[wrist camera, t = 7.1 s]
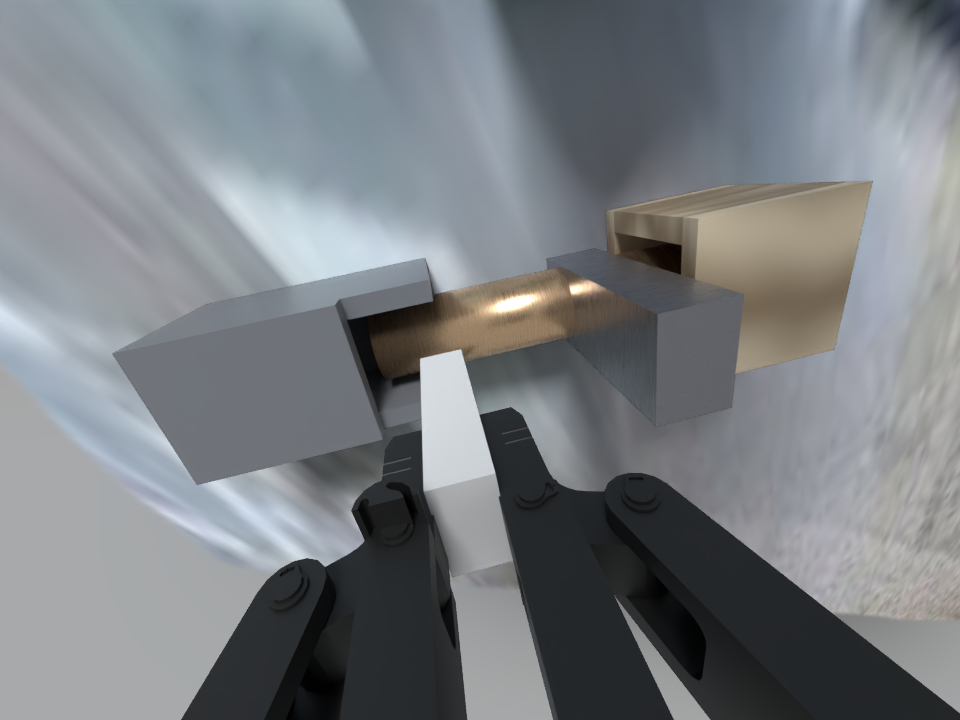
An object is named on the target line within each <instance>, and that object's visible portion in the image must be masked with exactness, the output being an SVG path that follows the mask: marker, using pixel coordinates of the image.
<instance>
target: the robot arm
mask: <svg viewBox="0 0 960 720" xmlns="http://www.w3.org/2000/svg"><path fill="white" fill-rule="evenodd" d="M420 377H421V414H422V430H421V431H417V432H413V433H408V434H404V435H400V436H396V437H393V439H392V440H391V442H390V444H389V445H388V447H387V448H386V450H385V458H384V466H383V477H382V481H380V482H378V483H375V484H374V485H372V486H371V487H369V488H368V489H366V490H365V491H364V492H363V493H362V494H361V495H360V496H359V497H358V498H357V500H356V501H355V503H354V506H353V508H352V510H351V511H352V513H353V516H354V518H355V520H356V522H357V524H358V527H359V529H360V531H361V533H362V535H363V537H364V540H365V541H364V543H363V544H362V545H361V546H359V547H358V548H357V549H356V550H354V551H353V552H351V553H350V554H348V555H346V556H345V557H343V558H341V559H339V560H337V561H335V562H334V563H332V564H330V565H328V566H326V567H324V566H323V565H322V564H321V563H320V562H319V561H318V560H314V559H308V558H306V559H302V560H298V561H294V562H292V563H290V564H288V565H286V566H284V567H282V568H281V569H279V570H278V571H277V572H276V573H275V574H274V575H272V576H271V577H270V578H269V579H268V580H267V581H266V582H265V584H264V585H263V586H262V587H261V589H260V590H259V591H258V593H257V594H256V596H255V598H254V599H253V601H252V603H251V604H250V606H249V608H248V609H247V611H246V613H245V614H244V616H243V618H242V619H241V621H240V623H239V624H238V626H237V628H236V629H235V631H234V633H233V635H232V636H231V638H230V639H229V641H228V643H227V644H226V646H225V648H224V649H223V651H222V653H221V654H220V656H219V658H218V659H217V661H216V663H215V664H214V666H213V668H212V669H211V671H210V673H209V675H208V676H207V678H206V679H205V681H204V683H203V684H202V686H201V688H200V689H199V691H198V693H197V695H196V696H195V698H194V699H193V701H192V703H191V704H190V706H189V708H188V709H187V711H186V713H185V714H184V716H183V718H182V719H181V720H467V713H466V703H465V694H464V683H463V673H462V663H461V654H460V642H459V632H458V622H457V612H456V602H455V599H454V596H453V592H452V589H451V586H450V575H449V569H450V572H451V575H452V577H456V576H460V575H463V574H467V573H471V572H475V571H478V570H482V569H486V568H489V567H493V566H497V565H501V564H504V563H508V562H512V561H513V562H514V566H515V570H516V574H517V579H518V583H519V588H520V593H521V597H522V602H523V605H524V606H525V611H526V614H527V619H528V622H529V627H530V630H531V634H532V638H533V642H534V646H535V650H536V654H537V658H538V662H539V666H540V669H541V673H542V677H543V681H544V685H545V689H546V692H547V697H548V701H549V705H550V709H551V713H552V717H553V720H674V719H673V717H672V715H671V713H670V711H669V709H668V707H667V705H666V703H665V701H664V698H663V697H662V694H661V692H660V690H659V688H658V686H657V684H656V682H655V680H654V678H653V676H652V673H651V671H650V670H649V667H648V665H647V663H646V661H645V659H644V657H643V655H642V653H641V651H640V648H639V647H638V644H637V642H636V640H635V638H634V636H633V634H632V632H631V630H630V628H629V626H628V624H627V621H626V619H625V617H624V615H623V613H622V611H621V609H620V607H619V605H618V603H617V601H616V599H615V597H616V598H617V599H618V601H619V602H620V603H621V604H622V606H623V607H624V608H625V610H626V611H627V612H628V614H629V615H630V616H631V617H632V619H633V620H634V621H635V623H636V624H637V625H638V626H639V628H640V629H641V630H642V632H643V633H644V634H645V635H646V637H647V638H648V639H649V641H650V642H651V643H652V644H653V646H654V647H655V648H656V650H657V651H658V652H659V653H660V655H661V656H662V657H663V659H664V660H665V661H666V662H667V664H668V665H669V666H670V668H671V669H672V670H673V672H674V673H675V674H676V675H677V677H678V678H679V679H680V681H681V682H682V683H683V684H684V686H685V687H686V688H687V690H688V691H689V692H690V694H691V695H692V696H693V697H694V698H695V700H696V701H697V703H698V704H699V705H700V706H701V708H702V709H703V710H704V712H705V713H706V714H707V716H708V717H709V718H710V719H711V720H960V713H959V712H957V711H956V710H955V709H953V708H952V707H951V706H950V705H948V704H947V703H946V702H945V701H943V700H942V699H941V698H939V697H938V696H937V695H936V694H934V693H933V692H932V691H931V690H929V689H928V688H927V687H925V686H924V685H923V684H922V683H920V682H919V681H918V680H916V679H915V678H914V677H913V676H911V675H910V674H909V673H908V672H906V671H905V670H904V669H902V668H901V667H900V666H898V665H897V664H896V663H895V662H894V661H892V660H891V659H889V658H888V657H887V656H886V655H885V654H883V653H882V652H881V651H880V650H878V649H877V648H876V647H874V646H873V645H872V644H871V643H869V642H868V641H867V640H866V639H864V638H863V637H862V636H860V635H859V634H858V633H856V632H855V631H854V630H853V629H851V628H850V627H849V626H848V625H846V624H845V623H844V622H843V621H841V620H840V619H839V618H837V617H836V616H835V615H834V614H832V613H831V612H830V611H829V610H827V609H826V608H825V607H823V606H822V605H821V604H820V603H818V602H817V601H816V600H815V599H813V598H812V597H811V596H809V595H808V594H807V593H806V592H804V591H803V590H802V589H801V588H799V587H798V586H797V585H795V584H794V583H793V582H792V581H790V580H789V579H788V578H787V577H785V576H784V575H783V574H781V573H780V572H779V571H778V570H776V569H775V568H774V567H772V566H771V565H770V564H769V563H767V562H766V561H765V560H764V559H762V558H761V557H760V556H758V555H757V554H756V553H755V552H753V551H752V550H751V549H750V548H748V547H747V546H746V545H744V544H743V543H742V542H741V541H739V540H738V539H737V538H736V537H734V536H733V535H732V534H730V533H729V532H728V531H727V530H725V529H724V528H723V527H721V526H720V525H719V524H718V523H716V522H715V521H714V520H713V519H711V518H710V517H709V516H707V515H706V514H705V513H704V512H702V511H701V510H700V509H699V508H697V507H696V506H695V505H693V504H692V503H691V502H690V501H688V500H687V499H686V498H685V497H683V496H682V495H681V494H679V493H678V492H677V491H676V490H674V489H673V488H672V487H671V486H669V485H668V484H667V483H665V482H663V481H662V480H660V479H658V478H656V477H654V476H650V475H647V474H643V473H627V474H623V475H620V476H617V477H615V478H614V479H613V480H611V481H610V482H609V483H608V485H607V487H606V489H605V491H604V492H596V491H577V490H573V489H569V488H566V487H564V486H562V485H561V484H559V483H558V482H557V481H556V480H555V479H553V478H552V476H551V475H550V473H549V472H548V470H547V467H546V465H545V463H544V461H543V459H542V457H541V454H540V452H539V450H538V448H537V446H536V444H535V442H534V439H533V438H532V435H531V433H530V431H529V429H528V427H527V424H526V422H525V420H524V418H523V416H522V415H521V414H520V413H519V412H517V411H516V410H514V409H513V408H511V407H510V408H506V409H502V410H498V411H494V412H490V413H485V414H481V415H479V412H478V409H477V405H476V401H475V398H474V394H473V391H472V387H471V383H470V380H469V376H468V373H467V369H466V365H465V362H464V358H463V355H462V351H461V349H460V350H456V351H451V352H447V353H443V354H438V355H434V356H430V357H425V358H421V359H420ZM614 595H615V596H614Z"/></svg>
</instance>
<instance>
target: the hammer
mask: <svg viewBox="0 0 960 720" xmlns="http://www.w3.org/2000/svg"><path fill="white" fill-rule="evenodd" d="M546 260H547V269H548V270H543V271H538V272H534V273H529V274H525V275H520V276H516V277H511V278H507V279H502V280H498V281H493V282H489V283H484V284H479V285H475V286H470V287H466V288H461V289H457V290H452V291H448V292H443V293H439V294H434V295H432V296H433V301H431V302H427V303H422V304H418V305H413V306H409V307H404V308H400V309H395V310H391V311H386V312H382V313H377V314H373V315H368V316H367V321H368V329H369V335H370V340H371V344H372V348H373V352H374V355H375V358H376V361H377V364H378V367H379V369H380V371H381V373H382V375H383V377H384V378H385V379H386V380H388V379H392V378H397V377H401V376H405V375H410V374H414V373H418V372H420V359H421V358H425V357H430V356H434V355H438V354H443V353H447V352H451V351H456V350H460V349H461V351H462V355H463V358H464V362H465V361H470V360H474V359H478V358H483V357H487V356H491V355H495V354H500V353H504V352H508V351H513V350H517V349H521V348H526V347H530V346H534V345H538V344H543V343H547V342H551V341H556V340H560V339H564V338H565V339H566V340H567V341H568V342H569V343H570V344H571V345H572V346H573V347H574V348H575V349H576V350H577V351H578V352H579V353H580V354H581V355H582V356H584V357H585V358H586V359H587V360H588V361H589V362H590V363H591V364H592V365H593V366H594V367H595V368H596V369H597V370H598V371H599V372H600V373H601V374H602V375H603V376H604V377H605V378H606V379H607V380H608V381H609V382H610V383H611V384H612V385H613V386H615V387H616V388H617V389H618V390H619V391H620V392H621V393H622V394H623V395H624V396H625V397H626V398H627V399H628V400H629V401H630V402H631V403H632V404H633V405H634V406H635V407H636V408H637V409H638V410H639V411H640V412H641V413H642V414H643V415H644V416H645V417H647V418H648V419H649V420H650V421H651V422H652V423H653V424H654V425H655V426H656V427H657V426H661V425H665V424H669V423H673V422H676V421H680V420H684V419H688V418H692V417H696V416H700V415H704V414H708V413H712V412H716V411H720V410H724V409H728V408H732V400H733V391H734V382H735V374H736V365H737V356H738V347H739V338H740V329H741V320H742V311H743V302H744V294H743V293H739V292H736V291H733V290H729V289H726V288H723V287H720V286H716V285H713V284H710V283H706V282H703V281H700V280H697V279H693V278H690V277H687V276H683V275H681V260H682V245H678V244H673V243H666V244H661V245H657V246H652V247H648V248H643V249H638V250H634V251H629V252H625V253H620V254H616V255H614V254H611V253H608V252H605V251H601V250H598V249H595V248H594V249H590V250H585V251H581V252H576V253H572V254H567V255H562V256H558V257H553V258H549V259H546Z"/></svg>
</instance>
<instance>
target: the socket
mask: <svg viewBox="0 0 960 720" xmlns="http://www.w3.org/2000/svg"><path fill="white" fill-rule="evenodd" d="M872 183H873V181H853V182H818V183H783V184H748V185H725V186H720V187H715V188H711V189H706V190H701V191H697V192H692V193H687V194H682V195H678V196H673V197H668V198H663V199H659V200H654V201H649V202H645V203H640V204H635V205H630V206H626V207H621V208H616V209H612V210H607V211H606V221H607V246H608V253H611V254H614V255H616V254H620V253H625V252H629V251H634V250H638V249H643V248H648V247H652V246H657V245H661V244H666V243H673V244H678V245H682V260H681V275H683V276H687V277H690V278H693V279H697V280H700V281H703V282H706V283H710V284H713V285H716V286H720V287H723V288H726V289H729V290H733V291H736V292H739V293H743V294H744V302H743V311H742V320H741V329H740V338H739V347H738V356H737V365H736V374H737V373H741V372H745V371H749V370H753V369H757V368H761V367H765V366H769V365H773V364H777V363H781V362H785V361H789V360H794V359H798V358H802V357H806V356H810V355H814V354H818V353H822V352H826V351H830V350H834V349H835V345H836V340H837V336H838V332H839V327H840V323H841V319H842V314H843V310H844V305H845V301H846V297H847V292H848V288H849V283H850V279H851V275H852V270H853V266H854V262H855V257H856V253H857V248H858V244H859V240H860V235H861V231H862V226H863V222H864V218H865V213H866V209H867V205H868V200H869V196H870V191H871V187H872Z"/></svg>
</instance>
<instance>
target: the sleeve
mask: <svg viewBox="0 0 960 720" xmlns="http://www.w3.org/2000/svg"><path fill="white" fill-rule="evenodd" d="M432 295H434V294H433V289H432V285H431V281H430V277H429V273H428V269H427V264H426V260H425V258H422V259H417V260H412V261H408V262H403V263H398V264H394V265H389V266H384V267H380V268H375V269H370V270H366V271H361V272H356V273H352V274H347V275H342V276H337V277H333V278H328V279H323V280H319V281H314V282H309V283H305V284H300V285H295V286H291V287H286V288H281V289H277V290H272V291H267V292H262V293H258V294H253V295H248V296H244V297H239V298H234V299H230V300H225V301H220V302H216V303H211V304H206V305H204V306H202V307H200V308H198V309H196V310H194V311H192V312H190V313H188V314H186V315H185V316H183V317H181V318H179V319H177V320H175V321H173V322H171V323H169V324H167V325H166V326H164V327H162V328H160V329H158V330H156V331H154V332H152V333H150V334H148V335H147V336H145V337H143V338H141V339H139V340H137V341H135V342H133V343H131V344H129V345H128V346H126V347H124V348H122V349H120V350H118V351H116V352H114V353H112V354H113V356H114V357H115V359H116V360H117V362H118V364H119V365H120V367H121V368H122V370H123V371H124V373H125V374H126V376H127V377H128V379H129V381H130V382H131V384H132V385H133V387H134V388H135V390H136V391H137V393H138V395H139V396H140V398H141V399H142V401H143V402H144V404H145V405H146V407H147V408H148V410H149V412H150V413H151V415H152V416H153V418H154V419H155V421H156V422H157V424H158V425H159V427H160V429H161V430H162V432H163V433H164V435H165V436H166V438H167V439H168V441H169V442H170V444H171V446H172V447H173V449H174V450H175V452H176V453H177V455H178V456H179V458H180V460H181V461H182V463H183V464H184V466H185V467H186V469H187V470H188V472H189V473H190V475H191V477H192V478H193V480H194V481H195V483H196V484H197V485H199V484H203V483H207V482H211V481H215V480H220V479H224V478H228V477H232V476H236V475H240V474H244V473H248V472H252V471H257V470H261V469H265V468H269V467H273V466H277V465H281V464H285V463H289V462H294V461H298V460H302V459H306V458H310V457H314V456H318V455H322V454H326V453H331V452H335V451H339V450H343V449H347V448H351V447H355V446H359V445H363V444H368V443H372V442H376V441H380V440H383V435H384V429H385V428H389V427H393V426H397V425H401V424H405V423H409V422H414V421H418V420H422V414H421V377H420V372H418V373H414V374H410V375H405V376H401V377H397V378H392V379H388V380H386V379H385V378H384V377H383V375H382V373H381V371H380V369H379V367H378V364H377V361H376V358H375V355H374V352H373V348H372V344H371V340H370V335H369V329H368V321H367V316H368V315H373V314H377V313H382V312H386V311H391V310H395V309H400V308H404V307H409V306H413V305H418V304H422V303H427V302H431V301H433V296H432Z"/></svg>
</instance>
